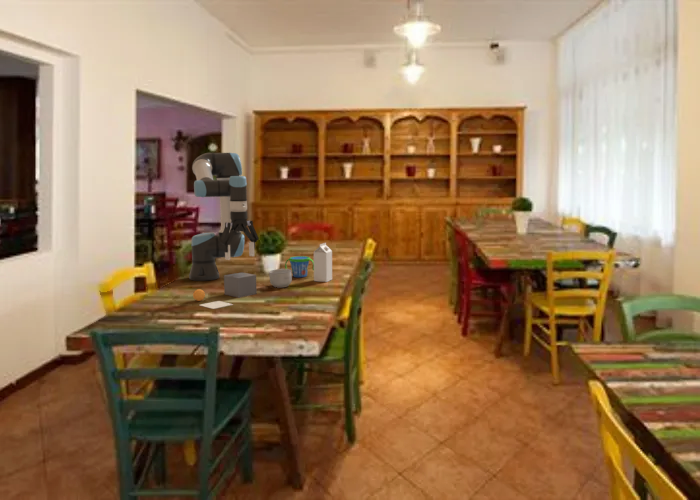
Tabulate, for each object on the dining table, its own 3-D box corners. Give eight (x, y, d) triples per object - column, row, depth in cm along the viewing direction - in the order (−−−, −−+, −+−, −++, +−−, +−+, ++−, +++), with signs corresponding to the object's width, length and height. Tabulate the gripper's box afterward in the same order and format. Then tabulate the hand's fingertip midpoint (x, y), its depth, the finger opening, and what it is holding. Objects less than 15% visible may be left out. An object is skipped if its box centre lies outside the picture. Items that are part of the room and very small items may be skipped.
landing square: (198, 305, 243) (198, 304, 243) (218, 301, 250) (218, 300, 250) (213, 309, 236) (213, 308, 236) (233, 304, 244) (233, 304, 244)
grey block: (224, 294, 264) (223, 275, 263) (242, 290, 271) (241, 272, 270) (238, 297, 257) (238, 278, 256) (256, 293, 265) (256, 274, 263)
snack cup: (282, 277, 304) (282, 258, 303) (289, 274, 314) (288, 255, 313) (310, 279, 300) (310, 259, 299) (316, 275, 310) (316, 256, 309)
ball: (191, 300, 251) (190, 289, 250) (200, 298, 255) (200, 287, 254) (197, 302, 248) (197, 291, 247) (207, 300, 252) (207, 289, 251)
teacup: (287, 289, 275) (287, 272, 274) (266, 288, 277) (265, 271, 276) (296, 283, 289) (296, 267, 287) (275, 282, 291) (275, 267, 290)
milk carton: (313, 281, 294) (313, 244, 292) (319, 278, 301) (319, 242, 298) (326, 282, 292) (326, 244, 289) (332, 279, 298) (332, 243, 295)
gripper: (221, 212, 247) (222, 262, 250) (265, 209, 266) (266, 255, 269) (210, 211, 252) (212, 260, 255) (255, 208, 271) (256, 253, 274)
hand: (240, 257), depth 262 cm, fingers open, 13 cm apart
